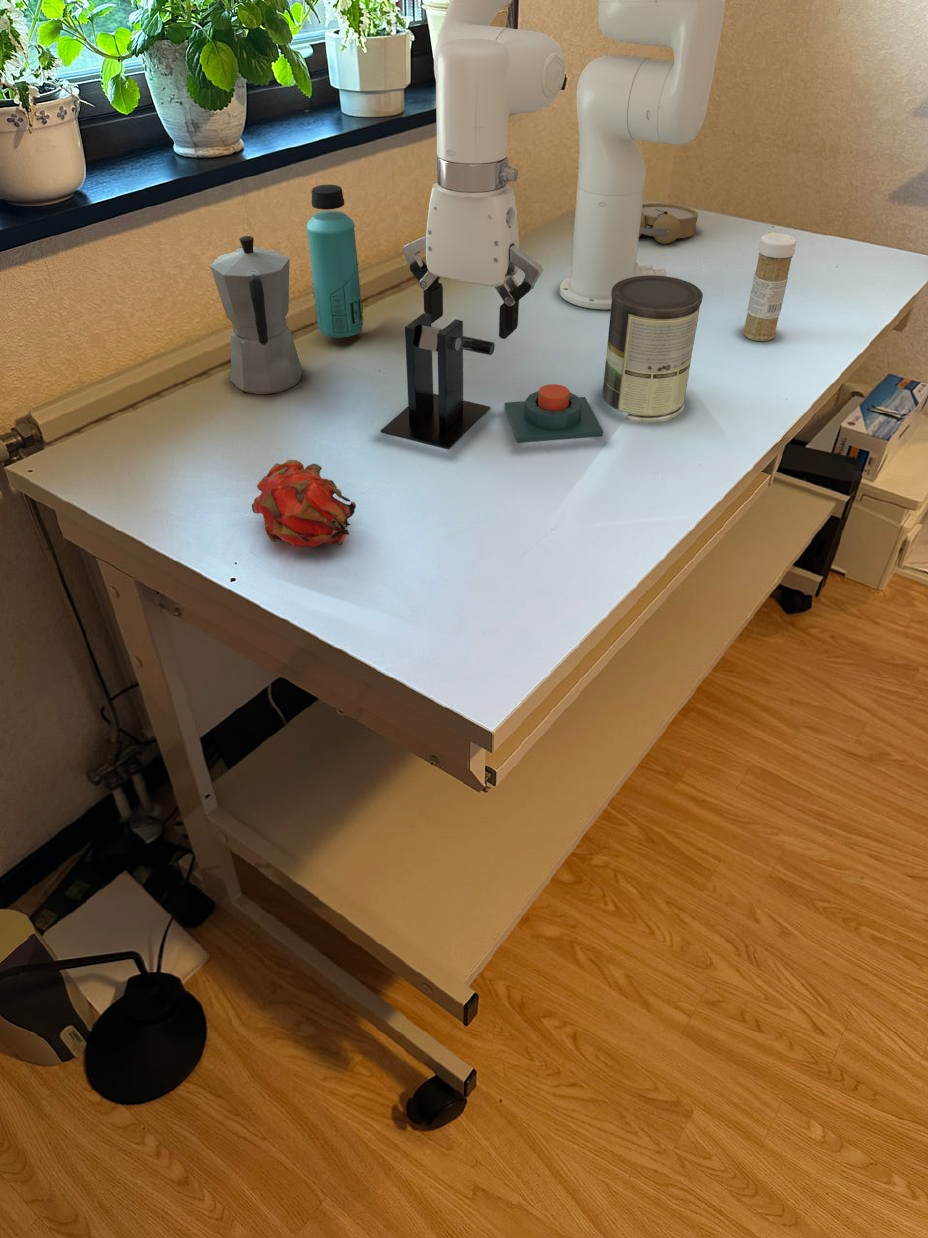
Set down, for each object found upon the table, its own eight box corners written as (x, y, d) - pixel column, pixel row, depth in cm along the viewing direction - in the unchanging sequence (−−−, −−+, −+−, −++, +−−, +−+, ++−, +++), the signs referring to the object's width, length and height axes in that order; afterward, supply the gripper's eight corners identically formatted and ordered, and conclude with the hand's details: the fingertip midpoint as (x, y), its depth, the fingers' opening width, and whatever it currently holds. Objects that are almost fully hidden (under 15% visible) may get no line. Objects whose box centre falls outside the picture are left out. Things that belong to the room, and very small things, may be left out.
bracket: (425, 399, 117) (422, 299, 108) (490, 415, 113) (492, 312, 105) (380, 439, 109) (373, 334, 101) (449, 457, 106) (447, 350, 98)
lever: (452, 350, 115) (456, 330, 115) (492, 359, 114) (496, 338, 113) (405, 344, 104) (408, 322, 103) (449, 354, 102) (453, 331, 102)
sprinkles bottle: (767, 327, 133) (788, 230, 124) (780, 341, 129) (803, 242, 121) (736, 330, 132) (755, 232, 124) (749, 343, 129) (769, 244, 120)
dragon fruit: (274, 521, 99) (349, 582, 94) (216, 511, 92) (294, 576, 86) (310, 451, 97) (389, 509, 92) (253, 435, 89) (336, 497, 84)
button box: (583, 408, 115) (586, 382, 112) (601, 443, 108) (604, 416, 106) (503, 414, 114) (504, 388, 111) (517, 450, 107) (518, 422, 105)
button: (564, 396, 110) (565, 382, 109) (571, 410, 108) (573, 397, 107) (535, 398, 110) (535, 385, 109) (541, 413, 107) (542, 399, 106)
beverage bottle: (357, 350, 127) (344, 196, 115) (311, 346, 129) (293, 193, 116) (370, 330, 132) (359, 180, 119) (325, 327, 133) (310, 178, 120)
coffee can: (583, 403, 116) (593, 291, 107) (634, 377, 121) (648, 268, 112) (650, 432, 110) (667, 316, 101) (701, 403, 116) (721, 291, 106)
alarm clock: (709, 210, 164) (675, 217, 153) (702, 240, 166) (668, 249, 155) (651, 199, 168) (614, 205, 158) (645, 228, 171) (608, 236, 160)
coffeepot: (227, 360, 125) (202, 221, 113) (297, 353, 127) (280, 215, 115) (235, 414, 114) (209, 266, 102) (312, 405, 116) (295, 258, 104)
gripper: (559, 175, 100) (549, 329, 111) (418, 156, 106) (421, 304, 117) (531, 193, 95) (523, 352, 106) (385, 172, 101) (392, 325, 112)
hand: (470, 327), depth 112 cm, fingers open, 9 cm apart
